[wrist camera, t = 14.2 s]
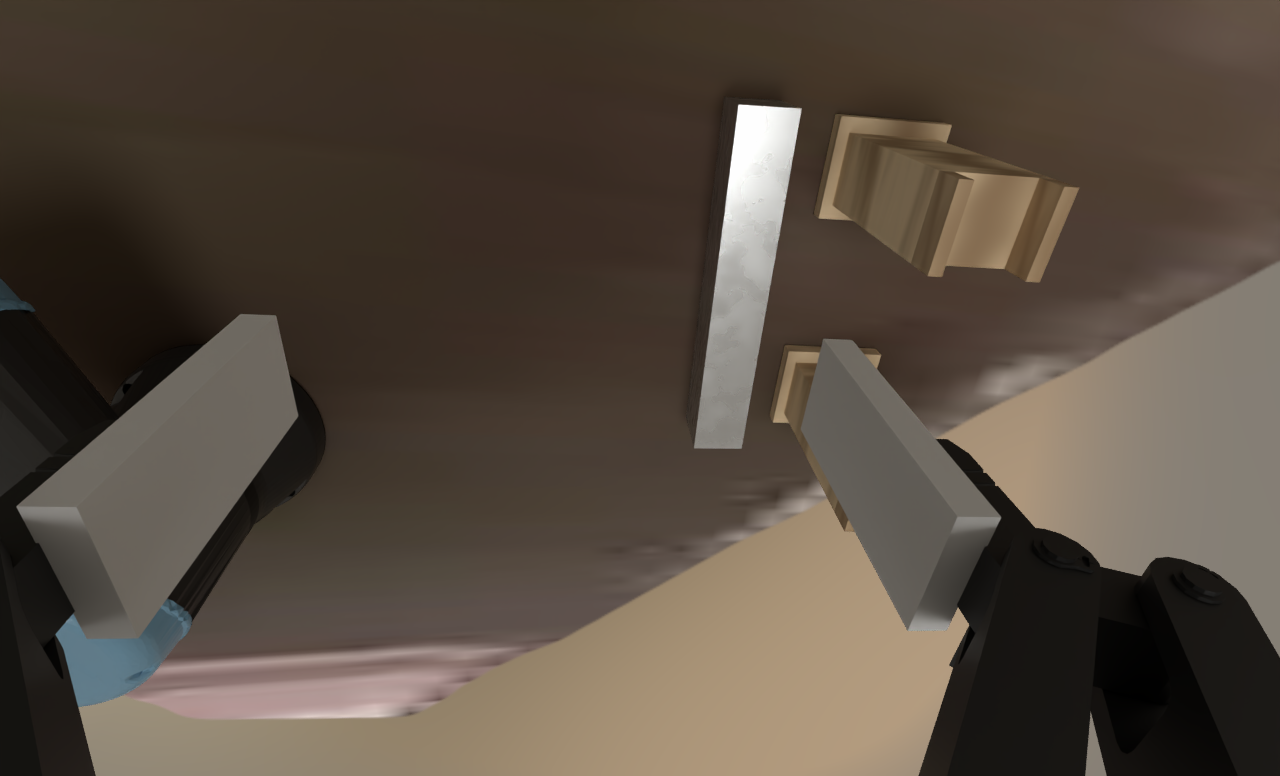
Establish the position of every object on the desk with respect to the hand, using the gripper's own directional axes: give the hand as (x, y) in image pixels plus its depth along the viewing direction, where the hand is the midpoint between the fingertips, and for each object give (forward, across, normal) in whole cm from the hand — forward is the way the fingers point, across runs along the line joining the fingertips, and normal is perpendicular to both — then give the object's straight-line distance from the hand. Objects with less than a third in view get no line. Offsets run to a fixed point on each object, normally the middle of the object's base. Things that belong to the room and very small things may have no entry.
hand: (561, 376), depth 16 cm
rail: (+33, -12, +9) cm, 36 cm away
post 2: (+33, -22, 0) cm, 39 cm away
